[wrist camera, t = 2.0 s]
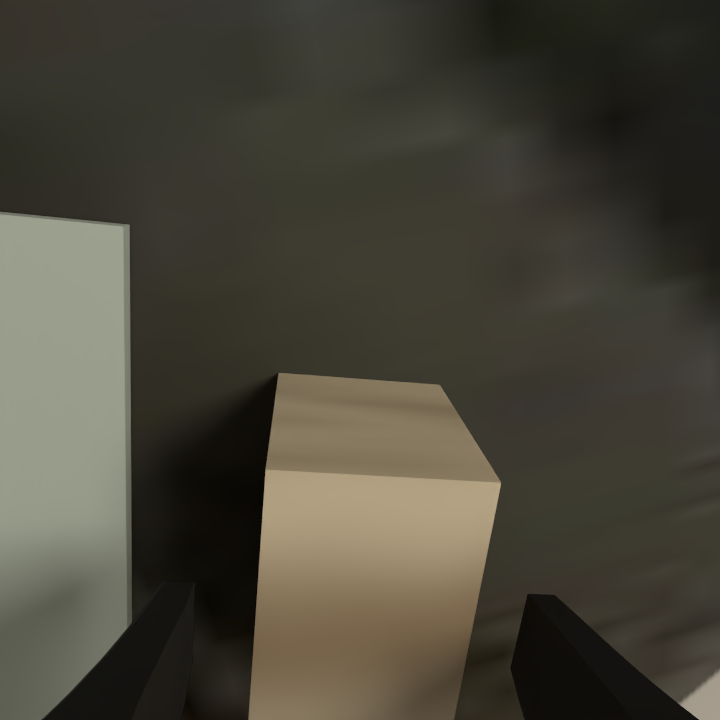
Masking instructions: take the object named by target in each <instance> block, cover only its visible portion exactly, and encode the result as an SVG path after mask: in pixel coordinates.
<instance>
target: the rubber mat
mask: <svg viewBox="0 0 720 720" xmlns="http://www.w3.org/2000/svg"><path fill="white" fill-rule="evenodd" d="M131 623H132V535H131V383H130V231H129V225H127V224H117V223H107V222H97V221H87V220H77V219H67V218H57V217H47V216H37V215H27V214H17V213H7V212H0V720H42V719H43V718H44V717H45V716H46V715H47V714H48V713H49V712H50V711H51V710H52V709H53V708H54V707H55V706H56V705H57V704H58V703H59V702H60V701H62V700H63V699H64V698H65V697H66V696H67V695H68V694H69V693H70V692H71V690H72V689H73V688H74V687H75V686H76V685H77V684H78V683H79V682H80V681H81V680H82V679H83V678H84V677H85V676H86V675H87V674H88V672H89V671H90V670H91V669H92V668H93V667H94V666H95V665H96V664H97V663H98V662H99V661H100V660H101V658H102V657H103V656H104V655H105V654H106V653H107V652H108V650H109V649H110V648H111V647H112V646H113V645H114V643H115V642H116V641H117V640H118V639H119V637H120V636H121V635H122V634H123V633H124V632H125V630H126V629H127V628H128V627H129V625H130V624H131Z"/></svg>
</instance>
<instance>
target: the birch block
mask: <svg viewBox="0 0 720 720" xmlns="http://www.w3.org/2000/svg"><path fill="white" fill-rule="evenodd" d="M500 486H501V482H500V480H499V478H498V477H497V475H496V474H495V472H494V471H493V469H492V467H491V466H490V464H489V463H488V461H487V459H486V458H485V456H484V455H483V453H482V451H481V450H480V448H479V447H478V445H477V443H476V442H475V440H474V439H473V437H472V435H471V434H470V432H469V431H468V429H467V428H466V426H465V424H464V423H463V421H462V420H461V418H460V416H459V415H458V413H457V412H456V410H455V408H454V407H453V405H452V404H451V402H450V400H449V399H448V397H447V396H446V394H445V393H444V391H443V389H442V388H441V386H440V385H433V384H420V383H407V382H393V381H380V380H366V379H353V378H340V377H326V376H313V375H299V374H286V373H279V374H278V381H277V389H276V396H275V403H274V411H273V418H272V426H271V433H270V441H269V448H268V456H267V463H266V471H265V486H264V500H263V515H262V530H261V544H260V559H259V574H258V588H257V603H256V617H255V632H254V647H253V661H252V676H251V691H250V705H249V720H454V716H455V711H456V706H457V701H458V696H459V691H460V686H461V681H462V676H463V671H464V666H465V661H466V656H467V651H468V646H469V641H470V636H471V631H472V626H473V621H474V616H475V611H476V606H477V601H478V596H479V591H480V586H481V581H482V576H483V571H484V566H485V561H486V556H487V551H488V546H489V541H490V536H491V531H492V526H493V521H494V516H495V511H496V506H497V501H498V496H499V491H500Z"/></svg>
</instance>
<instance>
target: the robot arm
mask: <svg viewBox="0 0 720 720" xmlns="http://www.w3.org/2000/svg"><path fill="white" fill-rule="evenodd" d="M194 597H195V582H172V581H165V582H163V583H162V584H161V585H160V586H159V587H158V588H157V590H156V591H155V593H154V594H153V595H152V597H151V598H150V600H149V601H148V602H147V604H146V605H145V606H144V608H143V609H142V610H141V612H140V613H139V614H138V615H137V617H136V618H135V619H134V620H133V622H132V623H131V624H130V625H129V627H128V628H127V629H126V630H125V632H124V633H123V634H122V635H121V636H120V637H119V639H118V640H117V641H116V642H115V643H114V645H113V646H112V647H111V648H110V649H109V650H108V652H107V653H106V654H105V655H104V656H103V657H102V658H101V660H100V661H99V662H98V663H97V664H96V665H95V666H94V667H93V668H92V669H91V670H90V671H89V672H88V674H87V675H86V676H85V677H84V678H83V679H82V680H81V681H80V682H79V683H78V684H77V685H76V686H75V687H74V688H73V689H72V690H71V692H70V693H69V694H68V695H67V696H66V697H65V698H64V699H63V700H62V701H60V702H59V703H58V704H57V705H56V706H55V707H54V708H53V709H52V710H51V711H50V712H49V713H48V714H47V715H46V716H45V717H44V718H43V719H42V720H181V717H182V713H183V709H184V704H185V699H186V694H187V689H188V683H189V678H190V672H191V667H192V662H193V631H194ZM511 671H512V675H513V679H514V683H515V687H516V691H517V695H518V698H519V702H520V705H521V709H522V712H523V716H524V718H525V720H699V719H697V718H696V717H695V716H693V715H692V714H691V713H690V712H688V711H687V710H686V709H684V708H683V707H682V706H680V705H679V704H678V703H677V702H676V701H674V700H673V699H672V698H671V697H669V696H668V695H667V694H666V693H664V692H663V691H662V690H661V689H660V688H658V687H657V686H656V685H655V684H653V683H652V682H651V681H650V680H649V679H648V678H646V677H645V676H644V675H643V674H642V673H640V672H639V671H638V670H637V669H636V668H635V667H634V666H632V665H631V664H630V663H629V662H628V661H627V660H626V659H624V658H623V657H622V656H621V655H620V654H619V653H618V652H617V651H616V650H614V649H613V648H612V647H611V646H610V645H609V644H608V643H607V642H606V641H605V640H603V639H602V638H601V637H600V636H599V635H598V634H597V633H596V632H595V631H594V630H593V629H591V628H590V627H589V626H588V625H587V624H586V623H585V622H584V621H583V620H582V619H581V618H580V617H578V616H577V615H576V614H575V613H574V612H573V611H572V610H571V609H570V608H569V607H567V606H566V605H565V604H564V603H563V602H562V601H561V600H559V599H558V598H557V597H556V596H555V595H540V594H528V595H527V599H526V604H525V608H524V612H523V617H522V621H521V625H520V629H519V634H518V638H517V642H516V647H515V651H514V655H513V660H512V664H511Z"/></svg>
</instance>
